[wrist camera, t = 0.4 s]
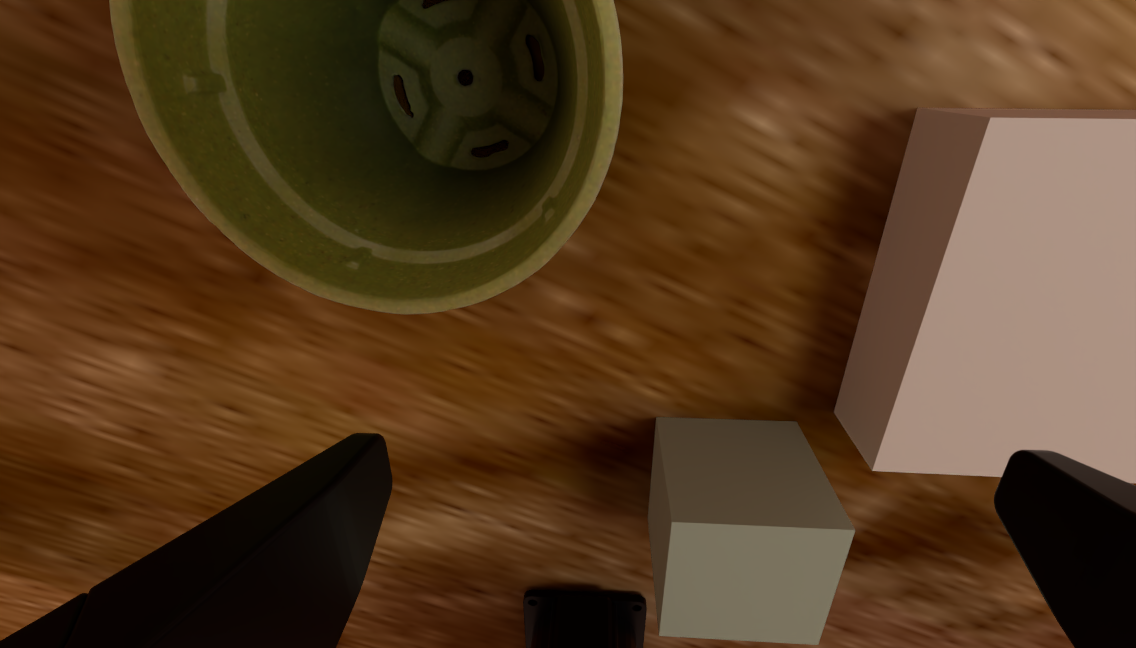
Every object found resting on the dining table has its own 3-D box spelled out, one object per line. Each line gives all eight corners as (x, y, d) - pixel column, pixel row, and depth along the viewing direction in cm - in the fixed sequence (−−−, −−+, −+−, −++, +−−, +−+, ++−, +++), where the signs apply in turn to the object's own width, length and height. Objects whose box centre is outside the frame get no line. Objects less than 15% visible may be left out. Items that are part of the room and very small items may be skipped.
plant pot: (566, -154, 15) (524, -399, 7) (642, 176, 19) (670, 256, 11) (279, -37, 16) (-14, -129, 9) (403, 244, 20) (278, 356, 12)
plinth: (1073, 416, 22) (1163, 484, 19) (830, 406, 23) (872, 470, 19) (1233, 109, 17) (1402, 121, 13) (911, 106, 17) (990, 117, 14)
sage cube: (772, 522, 25) (818, 644, 20) (647, 516, 26) (659, 635, 20) (796, 420, 23) (855, 530, 17) (655, 416, 23) (671, 522, 18)
